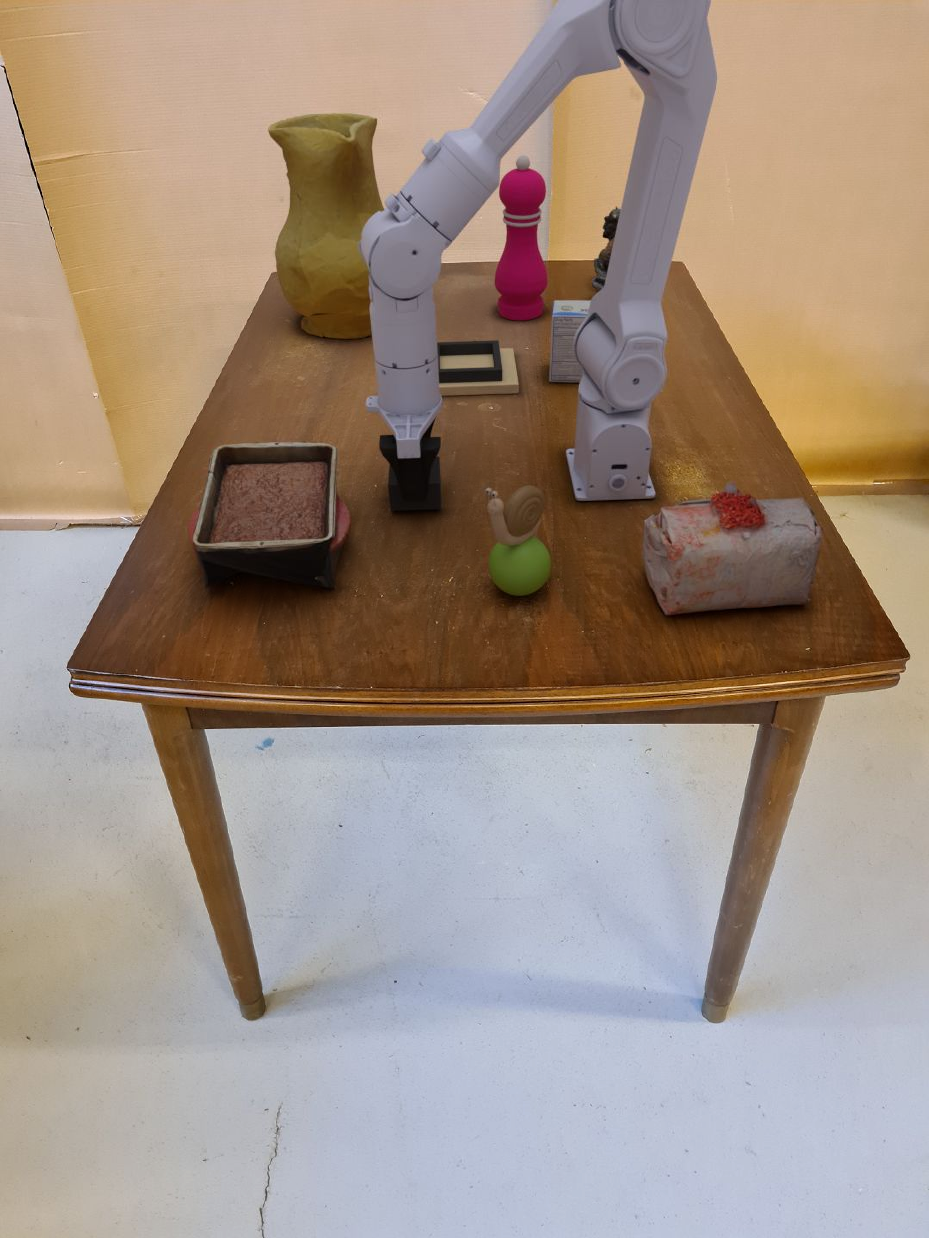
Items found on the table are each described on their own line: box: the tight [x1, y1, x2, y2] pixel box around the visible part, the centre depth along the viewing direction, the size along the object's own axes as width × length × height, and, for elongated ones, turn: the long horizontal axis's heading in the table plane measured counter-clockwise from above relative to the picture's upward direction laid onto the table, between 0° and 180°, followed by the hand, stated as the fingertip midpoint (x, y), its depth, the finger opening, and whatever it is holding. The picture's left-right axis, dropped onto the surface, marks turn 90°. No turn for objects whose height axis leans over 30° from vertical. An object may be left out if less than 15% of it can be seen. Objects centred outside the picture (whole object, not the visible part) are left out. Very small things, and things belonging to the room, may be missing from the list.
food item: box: [641, 480, 824, 616], centre depth 76 cm, size 14×8×10 cm, turn 95°
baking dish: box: [188, 441, 352, 590], centre depth 83 cm, size 14×18×10 cm
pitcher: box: [267, 112, 385, 340], centre depth 118 cm, size 17×19×25 cm
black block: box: [387, 455, 442, 512], centre depth 90 cm, size 5×5×3 cm
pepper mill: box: [494, 154, 549, 321], centre depth 120 cm, size 7×7×20 cm
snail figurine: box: [485, 485, 552, 597], centre depth 76 cm, size 5×6×12 cm
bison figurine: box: [591, 205, 621, 294], centre depth 128 cm, size 12×7×10 cm, turn 176°
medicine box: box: [548, 299, 591, 383], centre depth 108 cm, size 8×4×9 cm, turn 84°
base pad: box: [437, 339, 520, 397], centre depth 111 cm, size 10×12×3 cm
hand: (415, 483), depth 90 cm, fingers closed on black block, 5 cm apart
